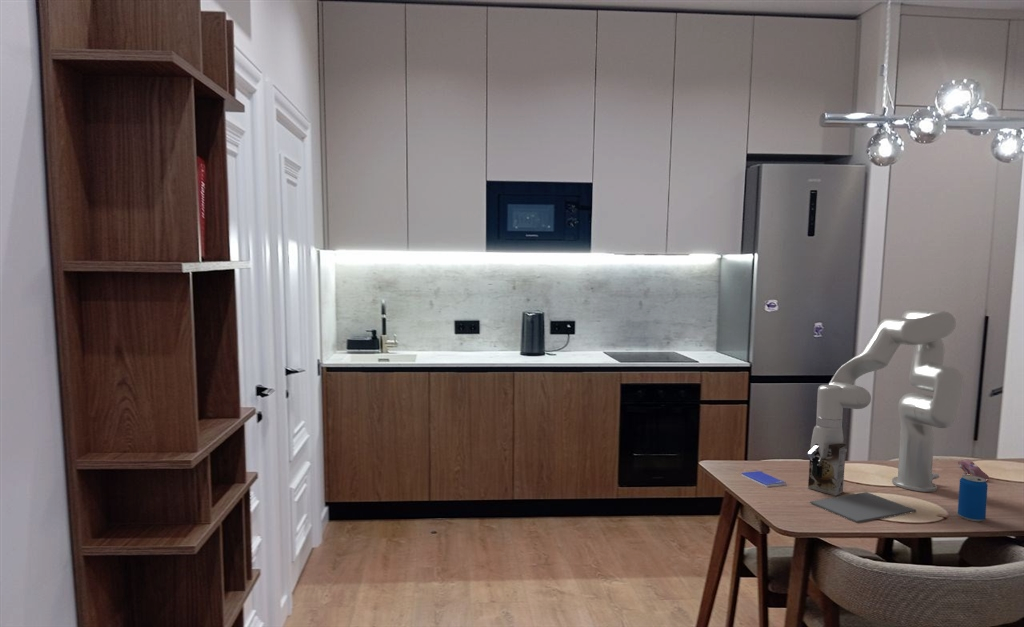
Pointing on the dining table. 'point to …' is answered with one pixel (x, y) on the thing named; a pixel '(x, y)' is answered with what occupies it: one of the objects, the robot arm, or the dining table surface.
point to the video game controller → (972, 469)
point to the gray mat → (862, 507)
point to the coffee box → (830, 471)
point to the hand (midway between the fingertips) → (826, 475)
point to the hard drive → (763, 479)
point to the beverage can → (972, 498)
